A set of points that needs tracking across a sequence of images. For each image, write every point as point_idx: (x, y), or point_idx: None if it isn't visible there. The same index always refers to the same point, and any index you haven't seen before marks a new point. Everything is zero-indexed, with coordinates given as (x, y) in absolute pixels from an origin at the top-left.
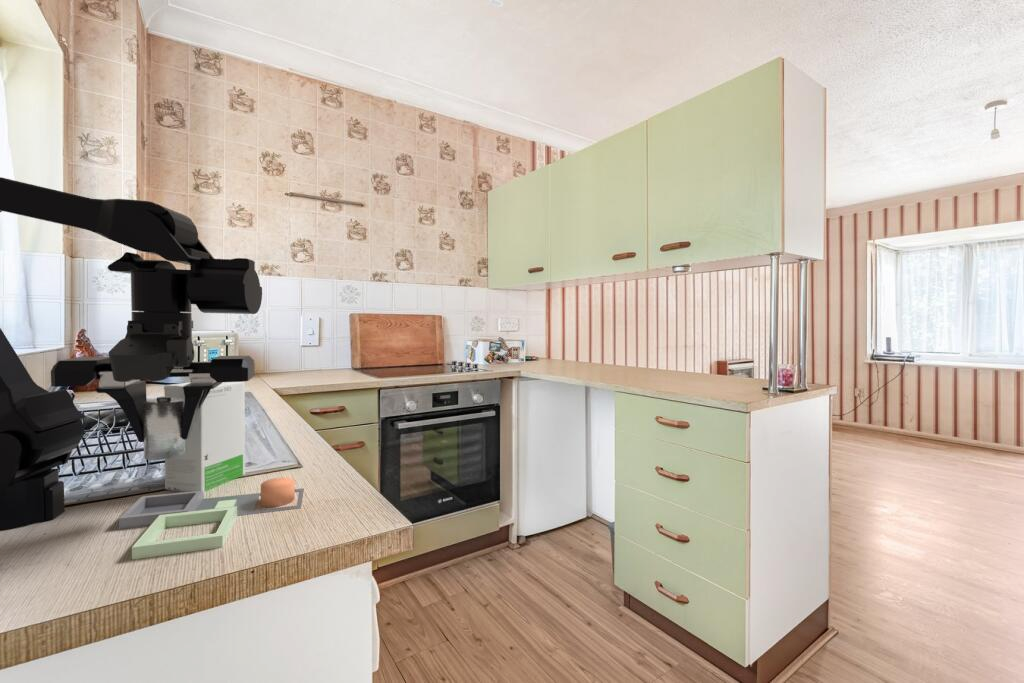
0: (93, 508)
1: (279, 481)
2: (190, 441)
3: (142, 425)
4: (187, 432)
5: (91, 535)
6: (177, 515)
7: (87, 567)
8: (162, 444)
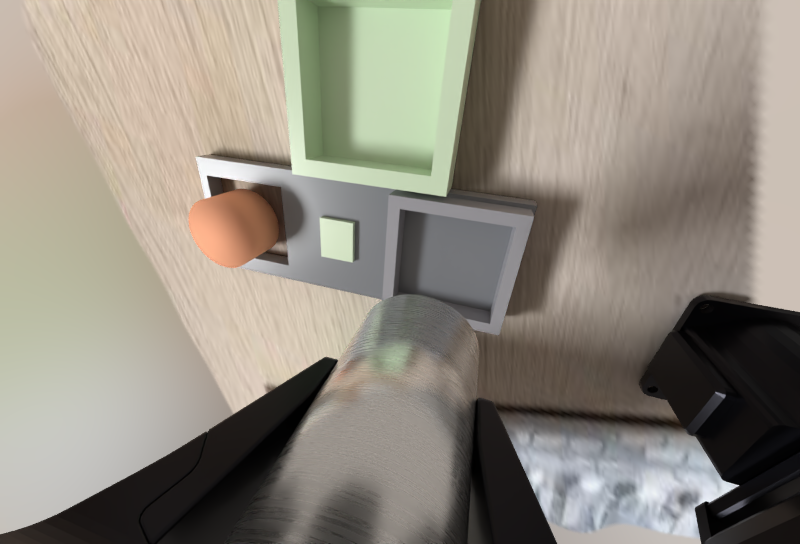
0: (589, 383)
1: (219, 243)
2: None
3: (475, 473)
4: (306, 370)
5: (585, 244)
6: (406, 174)
7: (582, 47)
8: (398, 330)
